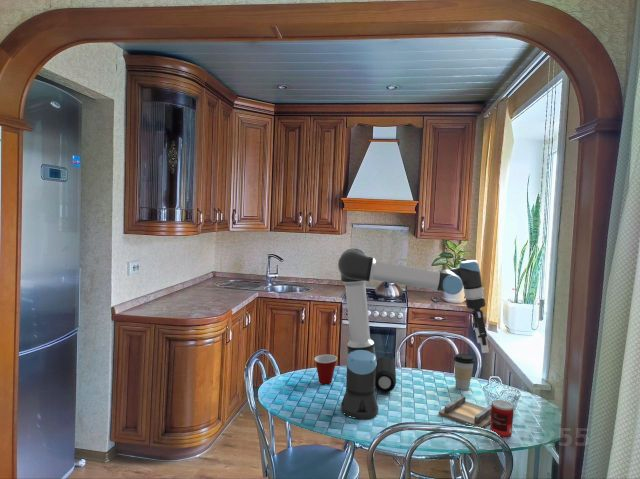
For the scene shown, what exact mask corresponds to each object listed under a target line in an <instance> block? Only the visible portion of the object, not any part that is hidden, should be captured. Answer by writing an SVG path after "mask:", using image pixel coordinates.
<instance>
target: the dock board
mask: <svg viewBox="0 0 640 479" xmlns="http://www.w3.org/2000/svg"><path fill="white" fill-rule="evenodd" d="M466 399H467V398H466V396H465V395H460V396H459V397H457V398H455V399H454V400H453V401H451V402H449V403H448V404H446V405H444V407H443V408H442V409H441V410H439V411H438V416H442V417H444V418H447V419H450V420H453V421H456V422H458V421H459V423H461V422H463V423H462V424H464V423H468V424H471V425H474V426H478V427H481V428H483V429H485V428H486V427H487V426H488V425H490V424H489V423H490V422H491V406H492V404H490V405H488V406H487V407H484V406H481V405H478V404H476V403H472V402H469V401H466ZM485 426H486V427H485Z"/></svg>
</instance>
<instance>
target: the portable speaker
mask: <svg viewBox="0 0 640 479" xmlns="http://www.w3.org/2000/svg"><path fill="white" fill-rule="evenodd" d="M376 362H377V365H376V377H375V389H376V390H377V391H379V392H381V393H389V392H392V391H393V390H394V388H395V387H396V384H397V374H396V373H397V371H396V363H395V361H394V359H392V358H391V357H389V356H380V357H379V358H378V359H376Z"/></svg>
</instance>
